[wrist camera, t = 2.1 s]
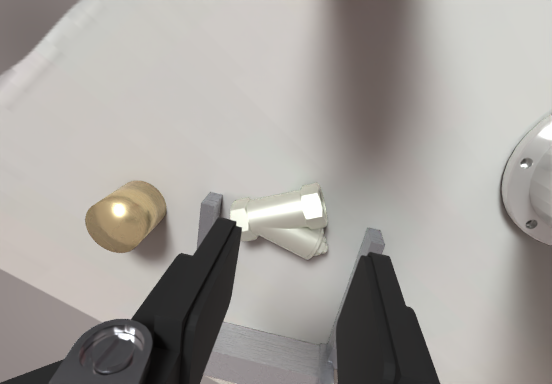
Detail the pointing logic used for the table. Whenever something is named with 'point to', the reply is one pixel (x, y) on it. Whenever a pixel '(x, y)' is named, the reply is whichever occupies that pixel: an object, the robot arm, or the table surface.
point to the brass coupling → (126, 216)
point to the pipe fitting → (285, 220)
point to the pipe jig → (272, 335)
